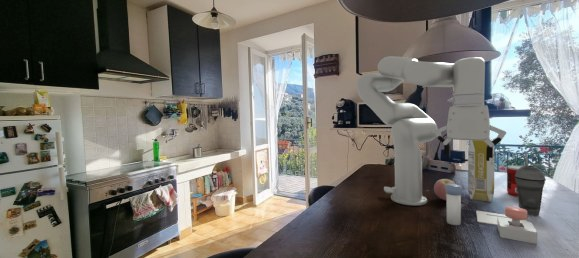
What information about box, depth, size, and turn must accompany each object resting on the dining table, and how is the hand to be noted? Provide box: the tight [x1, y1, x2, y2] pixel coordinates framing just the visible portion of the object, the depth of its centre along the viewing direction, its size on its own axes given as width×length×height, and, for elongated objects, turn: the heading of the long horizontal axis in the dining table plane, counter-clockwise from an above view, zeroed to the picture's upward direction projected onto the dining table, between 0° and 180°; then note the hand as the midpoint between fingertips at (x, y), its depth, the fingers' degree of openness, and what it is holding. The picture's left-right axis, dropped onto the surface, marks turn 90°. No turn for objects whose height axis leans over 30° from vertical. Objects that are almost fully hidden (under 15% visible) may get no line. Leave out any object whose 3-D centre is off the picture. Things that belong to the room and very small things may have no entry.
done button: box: [504, 206, 528, 227], centre depth 67 cm, size 4×4×5 cm
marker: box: [446, 184, 462, 226], centre depth 76 cm, size 4×4×11 cm
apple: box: [433, 178, 457, 202], centre depth 96 cm, size 8×8×8 cm
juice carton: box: [467, 136, 495, 203], centre depth 96 cm, size 9×8×24 cm
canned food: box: [506, 165, 523, 198], centre depth 99 cm, size 8×8×11 cm
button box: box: [496, 217, 538, 245], centre depth 67 cm, size 7×7×3 cm
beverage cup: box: [515, 151, 547, 217], centre depth 81 cm, size 7×7×20 cm
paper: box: [475, 210, 527, 226], centre depth 77 cm, size 12×10×1 cm
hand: (467, 158), depth 75 cm, fingers open, 9 cm apart
